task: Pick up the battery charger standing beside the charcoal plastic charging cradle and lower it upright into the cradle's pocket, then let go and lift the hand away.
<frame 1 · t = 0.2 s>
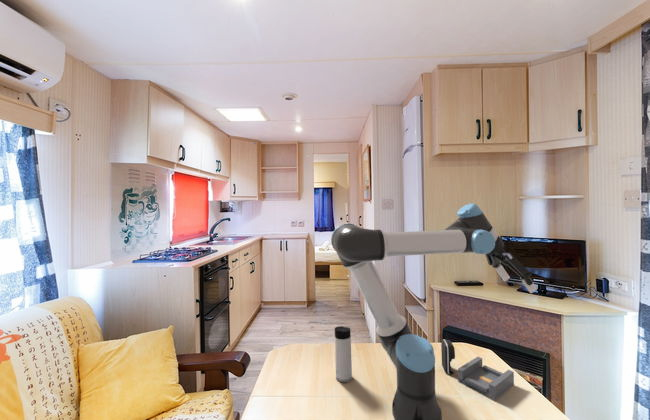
hand: (519, 284, 108), 35 cm above the table, tool tilted 35°, fingers open, 13 cm apart
travel mug: (343, 378, 111), on the table
cradle: (485, 383, 105), on the table
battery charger: (448, 370, 114), on the table
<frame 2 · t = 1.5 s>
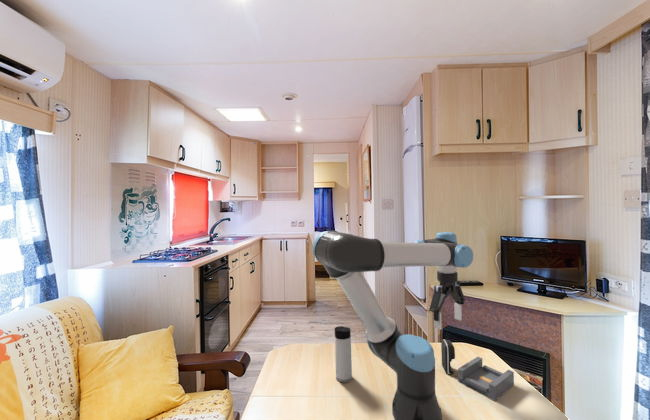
hand: (448, 323, 114), 19 cm above the table, tool pointing down, fingers open, 13 cm apart
nothing on the table moved.
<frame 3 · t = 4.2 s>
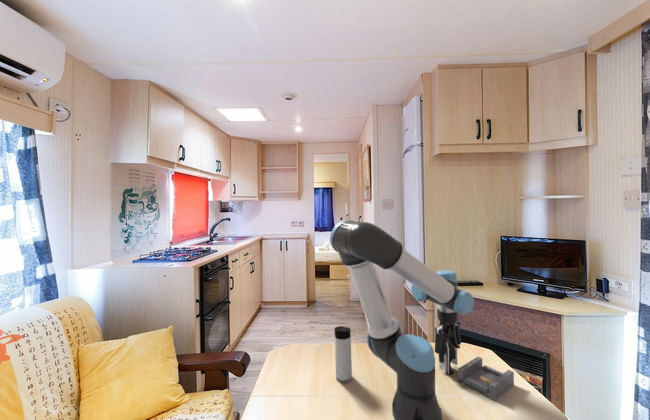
hand: (448, 366, 114), 1 cm above the table, tool pointing down, fingers closed on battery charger, 7 cm apart
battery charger: (448, 370, 114), on the table, touching gripper
everything else where it was.
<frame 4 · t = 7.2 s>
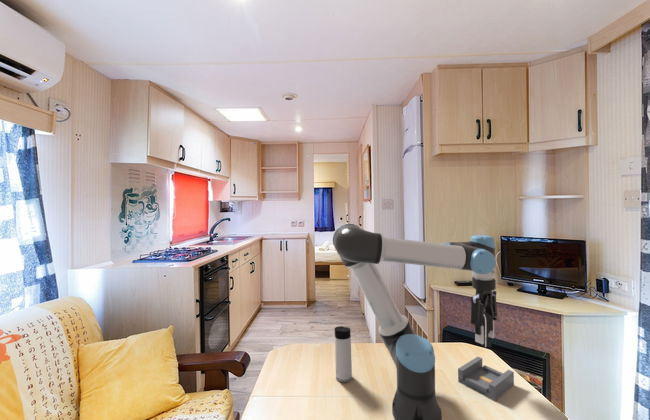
hand: (484, 339, 105), 16 cm above the table, tool pointing down, fingers closed on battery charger, 7 cm apart
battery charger: (484, 343, 105), point 15 cm above the table, touching gripper
everything else where it was.
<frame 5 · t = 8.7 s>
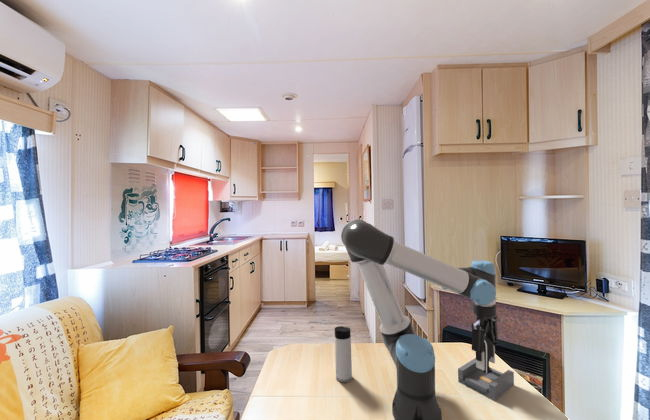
hand: (485, 364, 105), 7 cm above the table, tool pointing down, fingers closed on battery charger, 7 cm apart
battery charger: (485, 369, 105), point 5 cm above the table, touching gripper
everything else where it was.
when the fingers open (5 cm above the table, at t = 10.1 s): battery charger drops 2 cm, resting on cradle.
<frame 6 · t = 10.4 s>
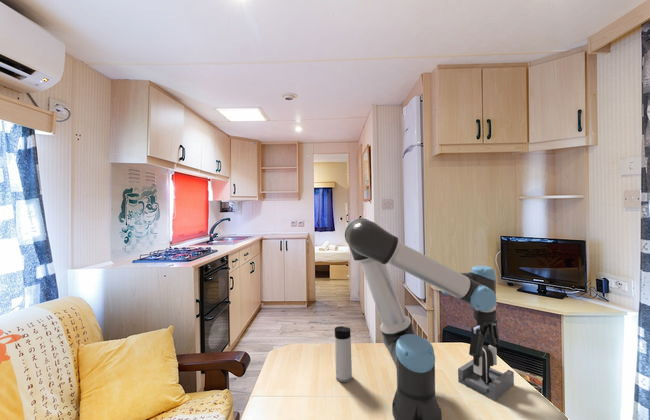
hand: (485, 368, 105), 6 cm above the table, tool pointing down, fingers open, 10 cm apart
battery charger: (485, 379, 105), point 2 cm above the table, touching cradle
everything else where it was.
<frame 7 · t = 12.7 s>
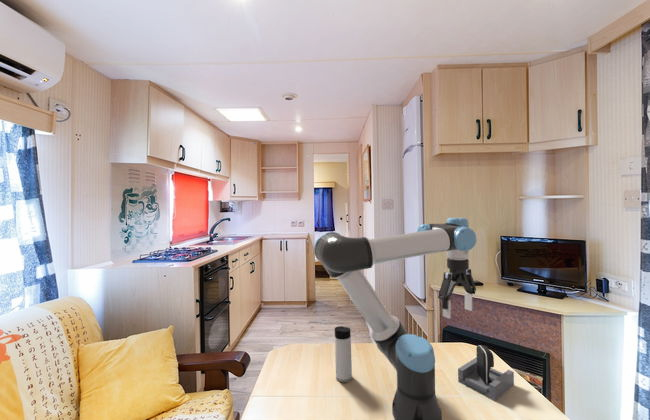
hand: (457, 313, 109), 25 cm above the table, tool pointing down, fingers open, 13 cm apart
nothing on the table moved.
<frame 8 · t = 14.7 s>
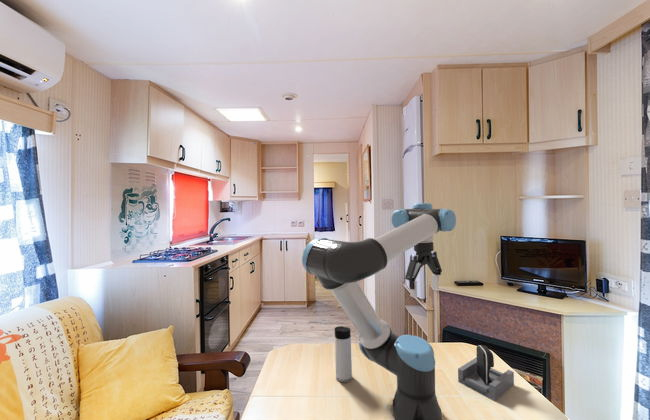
hand: (424, 293, 115), 31 cm above the table, tool pointing down, fingers open, 13 cm apart
nothing on the table moved.
at the end: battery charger inside the target area on the cradle (0.3 cm from its centre), point 1.4 cm above the cradle's base; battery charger tilted 0°; the gripper is holding nothing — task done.
